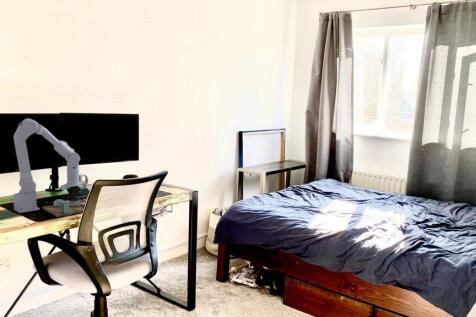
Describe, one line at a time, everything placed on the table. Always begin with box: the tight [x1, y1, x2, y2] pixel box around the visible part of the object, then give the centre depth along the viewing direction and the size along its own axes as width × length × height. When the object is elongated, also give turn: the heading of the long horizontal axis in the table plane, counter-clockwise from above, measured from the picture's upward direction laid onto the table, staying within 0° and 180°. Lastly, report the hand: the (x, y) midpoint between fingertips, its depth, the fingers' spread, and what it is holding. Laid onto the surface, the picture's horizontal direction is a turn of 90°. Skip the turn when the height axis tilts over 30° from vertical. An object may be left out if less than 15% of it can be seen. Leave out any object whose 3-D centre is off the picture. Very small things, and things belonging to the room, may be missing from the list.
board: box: [41, 199, 84, 218], centre depth 207 cm, size 21×17×1 cm
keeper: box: [55, 198, 69, 213], centre depth 200 cm, size 2×9×5 cm, turn 47°
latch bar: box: [53, 198, 87, 206], centre depth 208 cm, size 16×4×3 cm, turn 101°
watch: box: [78, 173, 89, 196], centre depth 236 cm, size 6×8×11 cm
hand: (73, 200), depth 214 cm, fingers closed
